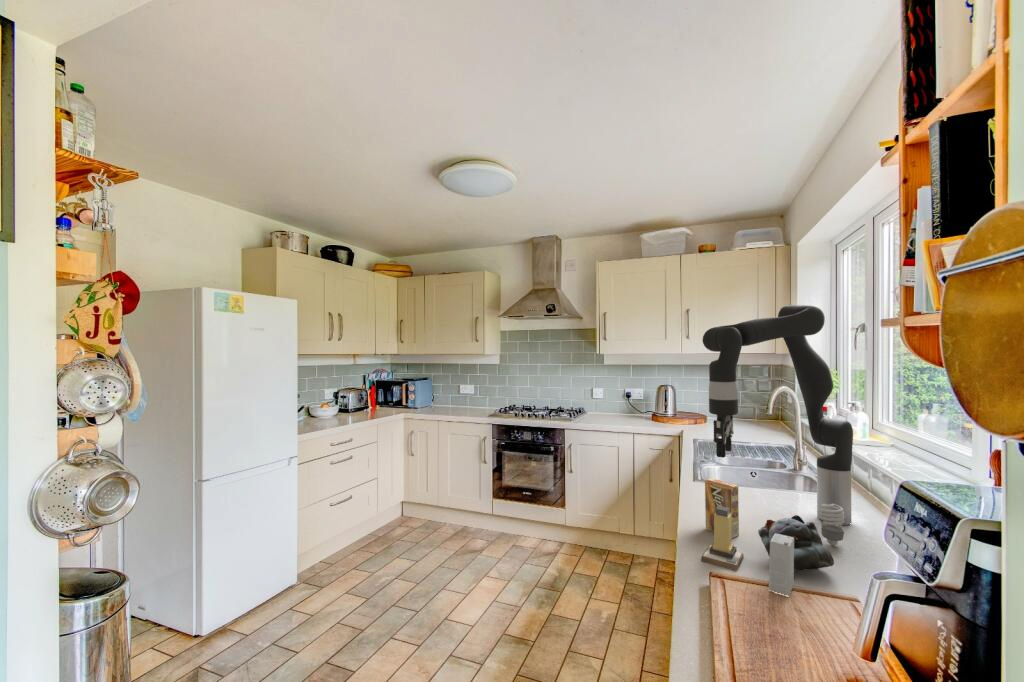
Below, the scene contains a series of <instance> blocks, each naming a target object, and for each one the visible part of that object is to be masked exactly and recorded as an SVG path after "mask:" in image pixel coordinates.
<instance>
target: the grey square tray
mask: <svg viewBox="0 0 1024 682" xmlns="http://www.w3.org/2000/svg"><path fill="white" fill-rule="evenodd" d="M713 544H714V542H713V543H712V544H708V546H707V548H705V550H704V552H703V553H702V555H701V557H700V559H701V562H703V563H709V564H712V565H716V566H719V567H723V568H727V569H731V570H733V571H734V570H735V571H739V570H740V569H739V568H740V566H741V564H742V562H743V560H744V558H745V557H744V555H745V554H744V553H743V552H740V551H738V550H737V546H734V550H733V552H732V554H729V553H726V552H722V551H718V550H714V549H713Z"/></svg>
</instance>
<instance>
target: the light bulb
mask: <svg viewBox="0 0 1024 682" xmlns="http://www.w3.org/2000/svg"><path fill="white" fill-rule="evenodd" d="M821 507H823V508H821V511H823V512H820V514H821V515H823V516H821V519H823V520H827V521H836V522H826V521H822V524H821V526H820V531H821V536H822V537H823V538H825V539H826V542H827V544H828V545H830V546H831V547H835V546H837V545H838V544H839V543H838V542H842V541H843V540H844V537H845V536H844V534H845V532H844V528H842V526H843V525H842V524H843V523H844V520H843V519H844V512H843V508H842V507H840V506H838V505H836V504H830V505H827V504H822V505H821ZM828 508H833V509H836V510H832V509H828ZM840 512H841V513H840ZM833 513H836V514H833ZM833 517H836V518H833Z"/></svg>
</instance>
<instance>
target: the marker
mask: <svg viewBox="0 0 1024 682" xmlns="http://www.w3.org/2000/svg"><path fill="white" fill-rule="evenodd" d="M713 543H714V546H716V547H720V548H724V549H728V550H729V548H730V547H731V544H732V538H731V514H730V513H729V508H727V507H722V506H718V507H717V508H716V513H715V514H714V532H713Z"/></svg>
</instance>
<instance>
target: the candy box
mask: <svg viewBox="0 0 1024 682" xmlns="http://www.w3.org/2000/svg"><path fill="white" fill-rule="evenodd" d="M704 497H705V498H704V503H705V506H704V507H705V509H704V510H705V512H704V513H705V530H709V531H711V532H713V533H714V514H715V513H716V508H717V507H718V506H722V507H727V508H729V513H730V514H731V539H734V538H736V537H739V536H740V519H739V515H740V514H739V512H740V511H739V485H738V484H734V483H731V482H726V481H723V480H719V479H715V478H709V479H706V480H704Z"/></svg>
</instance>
